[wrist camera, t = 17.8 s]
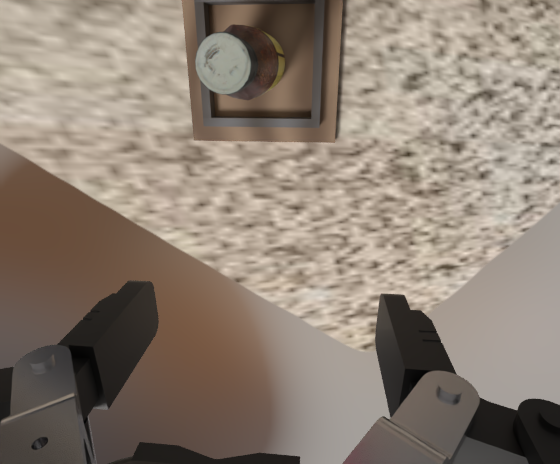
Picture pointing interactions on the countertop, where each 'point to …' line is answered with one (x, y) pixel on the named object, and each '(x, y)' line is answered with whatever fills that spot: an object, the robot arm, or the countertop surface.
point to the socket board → (294, 83)
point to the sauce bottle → (240, 62)
